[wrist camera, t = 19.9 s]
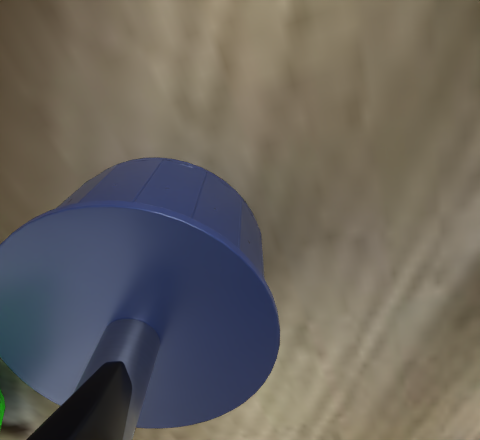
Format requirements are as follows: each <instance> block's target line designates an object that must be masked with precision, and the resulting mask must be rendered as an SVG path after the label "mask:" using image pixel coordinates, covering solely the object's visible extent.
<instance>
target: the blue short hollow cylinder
mask: <svg viewBox="0 0 480 440" xmlns="http://www.w3.org/2000/svg"><path fill="white" fill-rule="evenodd" d="M114 200H117V201H127V202H137V203H143V204H148V205H152V206H157V207H162V208H165V209H168V210H171V211H174V212H177V213H180V214H183V215H185V216H187V217H190V218H192V219H194V220H196V221H198V222H200V223H202V224H204V225H206V226H208V227H209V228H211V229H213V230H214V231H216V232H217V233H219V234H221V235H222V236H224V237H225V238H226V239H227V240H229V241H230V242H231V243H232V244H234V245H235V246H236V247H237V248H239V249H240V250H241V251H242V252H243V253H244V254H245V255H246V256H247V257H248V259H249V260H250V261H251V262H252V263H253V264H254V265H255V266H256V268H257V269H258V271H259V272H260V273H261V275H262V276H263V278H264V263H263V251H262V239H261V232H260V229H259V227H258V224H257V221H256V219H255V217H254V215H253V213H252V211H251V209H250V208H249V207H248V205H247V204H246V202H245V201H244V199H243V198H242V197H241V196H240V195H239V194H238V193H237V191H236V190H234V189H233V188H232V187H231V186H230V185H229V184H228V183H226V182H225V181H224V180H222V179H221V178H219V177H218V176H216V175H215V174H213V173H211V172H209V171H207V170H205V169H203V168H201V167H199V166H196V165H193V164H190V163H188V162H184V161H179V160H175V159H167V158H141V159H135V160H129V161H126V162H123V163H120V164H117V165H115V166H112V167H110V168H108V169H106V170H104V171H103V172H101V173H100V174H98V175H97V176H95V177H94V178H92V179H90V180H89V181H87V182H86V183H84V184H83V185H82V186H81V187H80V188H79V189H78V190H76V191H75V192H74V193H73V194H72V195H71V196H70V197H68V198H67V199H66V200H65V201H64V202H63V203H62V204H60V205H59V206H58V207H57V208H60V207H63V206H67V205H70V204H76V203H83V202H89V201H114Z"/></svg>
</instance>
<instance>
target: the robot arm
mask: <svg viewBox="0 0 480 440" xmlns="http://www.w3.org/2000/svg"><path fill="white" fill-rule="evenodd" d="M131 395H132V382H131V380H130V377H129V374H128V372H127V369H126V367H125V364H124V363H123V362H122V361H109V362H106V363H104V364H103V365H102V366H101V367H100V368H99V369H98V370H97V371H96V372H95V373H94V374H93V375H92V376H91V377H90V378H89V379H88V380H87V381H86V382H84V383H83V384H82V385H81V386H80V387H79V388H78V389H77V390H76V391H75V392H74V393H73V394H72V395H71V396H70V397H69V398H68V399H67V400H66V401H65V402H64V403H63V404H62V405H61V406H60V407H59V408H58V409H57V410H56V411H55V412H54V413H53V414H52V415H51V416H50V417H49V418H48V419H47V420H46V421H45V422H44V423H43V424H42V425H41V426H40V427H39V428H38V429H37V430H36V431H35V432H34V433H33V434H32V435H31V436H30V437H29V438H28V439H27V440H123V436H124V431H125V426H126V421H127V416H128V411H129V406H130V400H131Z"/></svg>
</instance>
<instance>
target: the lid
mask: <svg viewBox="0 0 480 440" xmlns="http://www.w3.org/2000/svg"><path fill="white" fill-rule="evenodd" d="M279 345H280V325H279V318H278V311H277V307H276V304H275V301H274V298H273V295H272V293H271V291H270V289H269V287H268V285H267V283H266V281H265V279H264V278H263V276H262V275H261V273H260V272H259V271H258V269H257V268H256V266H255V265H254V264H253V263H252V262H251V261H250V260H249V259H248V257H247V256H246V255H245V254H244V253H243V252H242V251H241V250H240V249H239V248H237V247H236V246H235V245H234V244H232V243H231V242H230V241H229V240H227V239H226V238H225V237H224V236H222V235H221V234H219V233H217V232H216V231H214V230H213V229H211V228H209V227H208V226H206V225H204V224H202V223H200V222H198V221H196V220H194V219H192V218H190V217H187V216H185V215H183V214H180V213H177V212H174V211H171V210H168V209H165V208H162V207H157V206H152V205H148V204H143V203H137V202H127V201H117V200H114V201H89V202H83V203H76V204H70V205H67V206H63V207H60V208H56V209H53V210H50V211H48V212H46V213H43V214H41V215H39V216H37V217H35V218H33V219H31V220H30V221H28V222H27V223H25V224H24V225H22V226H21V227H19V228H18V229H17V230H15V231H14V232H13V233H12V234H11V235H10V236H9V237H8V238H7V239H5V240H4V241H3V242H2V243H1V244H0V357H1V359H2V360H3V361H4V362H5V363H6V364H7V366H8V367H9V368H10V369H11V370H12V371H13V372H14V373H15V374H16V375H17V376H18V377H19V378H20V379H21V380H22V381H23V382H25V383H26V384H27V385H28V386H30V387H31V388H32V389H34V390H35V391H36V392H38V393H39V394H41V395H42V396H44V397H46V398H47V399H49V400H50V401H52V402H54V403H56V404H58V405H60V406H61V405H62V404H63V403H64V402H65V401H66V400H67V399H68V398H69V397H70V396H71V395H72V394H73V393H74V392H75V391H76V390H77V389H78V388H79V387H80V386H81V385H82V384H83V383H84V382H86V381H87V380H88V379H89V378H90V377H91V376H92V375H93V374H94V373H95V372H96V371H97V370H98V369H99V368H100V367H101V366H102V365H103V364H104V363H106V362H109V361H122V362H123V363H124V364H125V367H126V369H127V372H128V374H129V377H130V380H131V382H132V395H131V400H130V406H129V411H128V416H127V421H126V426H125V431H124V436H123V440H132V439H133V435H134V432H135V428H174V427H182V426H188V425H193V424H197V423H201V422H205V421H208V420H211V419H214V418H216V417H219V416H221V415H223V414H225V413H227V412H229V411H231V410H233V409H235V408H237V407H238V406H240V405H241V404H243V403H244V402H246V401H247V400H248V399H249V398H250V397H251V396H252V395H254V394H255V393H256V392H257V391H258V389H259V388H260V387H261V386H262V385H263V384H264V382H265V381H266V379H267V378H268V376H269V374H270V373H271V371H272V369H273V366H274V364H275V361H276V359H277V355H278V350H279Z"/></svg>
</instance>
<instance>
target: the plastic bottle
mask: <svg viewBox="0 0 480 440" xmlns="http://www.w3.org/2000/svg"><path fill="white" fill-rule="evenodd" d="M4 411H5V401H4V396H3V394H2V392H1V390H0V429H1V425H2V420H3V415H4Z"/></svg>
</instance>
